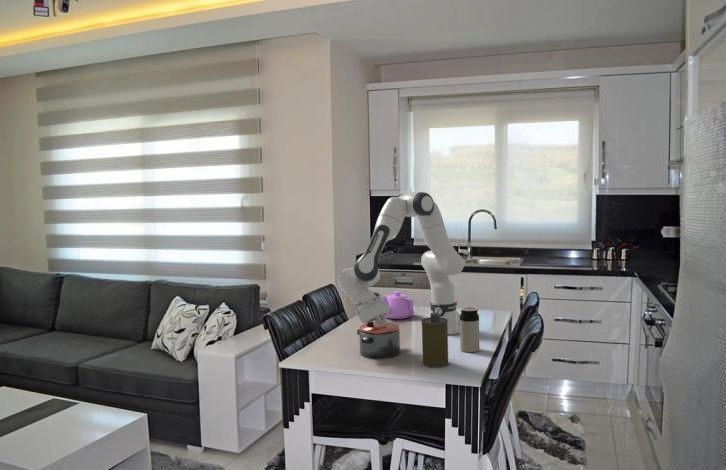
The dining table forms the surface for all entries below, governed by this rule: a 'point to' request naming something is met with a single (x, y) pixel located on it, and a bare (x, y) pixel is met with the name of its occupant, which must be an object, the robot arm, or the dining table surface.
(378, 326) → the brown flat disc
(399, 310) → the teapot
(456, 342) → the dining table surface
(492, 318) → the dining table surface
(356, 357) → the dining table surface
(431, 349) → the canister
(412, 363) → the dining table surface
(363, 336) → the cooker pot
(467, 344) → the travel mug
